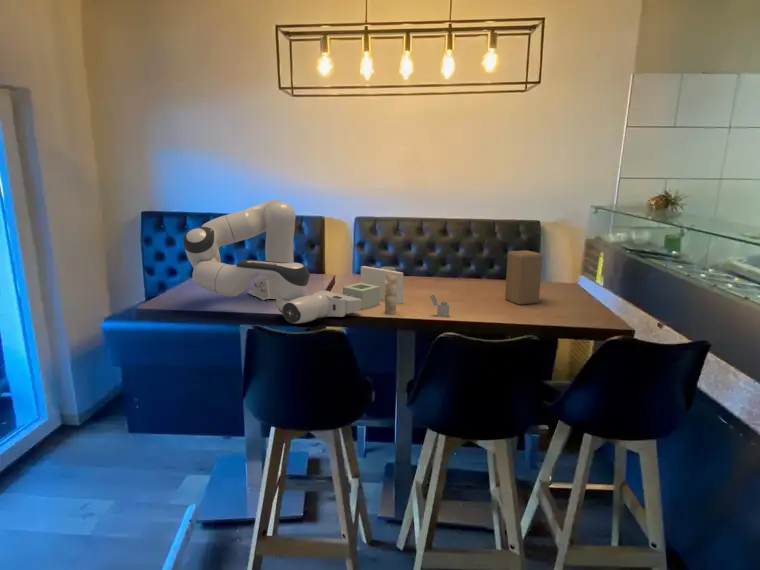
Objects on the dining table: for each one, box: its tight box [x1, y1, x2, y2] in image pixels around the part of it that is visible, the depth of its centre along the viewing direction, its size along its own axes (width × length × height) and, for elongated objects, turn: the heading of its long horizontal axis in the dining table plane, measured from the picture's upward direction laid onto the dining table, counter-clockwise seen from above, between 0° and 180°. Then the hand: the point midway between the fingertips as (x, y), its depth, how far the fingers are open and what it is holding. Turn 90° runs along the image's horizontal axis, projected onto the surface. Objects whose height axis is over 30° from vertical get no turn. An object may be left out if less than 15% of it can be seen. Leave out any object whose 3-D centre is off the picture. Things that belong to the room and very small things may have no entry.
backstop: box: [360, 265, 404, 304], centre depth 195 cm, size 20×21×13 cm
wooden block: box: [504, 249, 543, 306], centre depth 204 cm, size 10×10×20 cm
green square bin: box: [342, 282, 381, 311], centre depth 194 cm, size 10×10×7 cm
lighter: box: [429, 293, 450, 317], centre depth 185 cm, size 7×2×8 cm, turn 81°
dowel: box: [384, 274, 397, 315], centre depth 183 cm, size 4×4×15 cm
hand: (351, 296), depth 190 cm, fingers closed, pressing on green square bin
